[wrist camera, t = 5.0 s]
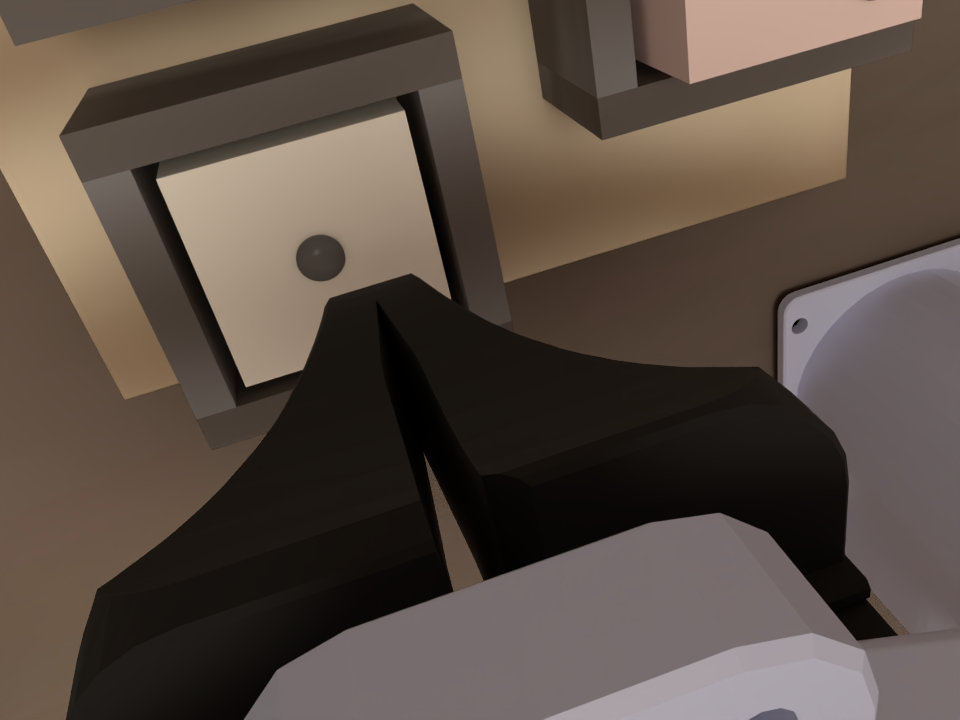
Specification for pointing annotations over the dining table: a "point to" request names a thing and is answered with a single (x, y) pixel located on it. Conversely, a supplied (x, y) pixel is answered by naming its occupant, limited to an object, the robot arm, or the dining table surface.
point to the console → (434, 131)
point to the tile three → (750, 30)
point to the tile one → (301, 227)
